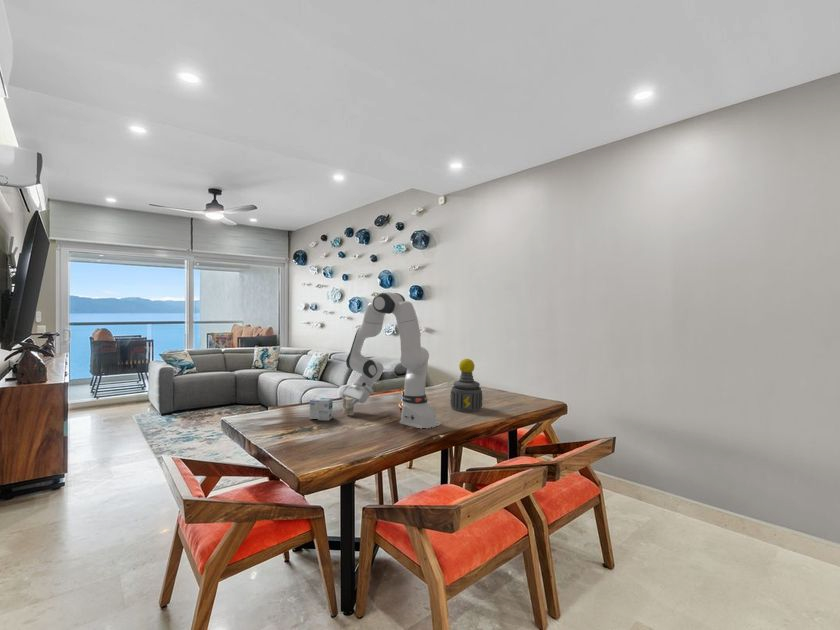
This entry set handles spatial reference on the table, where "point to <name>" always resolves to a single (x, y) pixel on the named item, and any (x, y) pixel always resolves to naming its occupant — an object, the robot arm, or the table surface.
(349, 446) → the table surface
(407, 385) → the robot arm
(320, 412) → the light bulb box
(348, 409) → the maple block
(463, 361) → the decorative lamp
